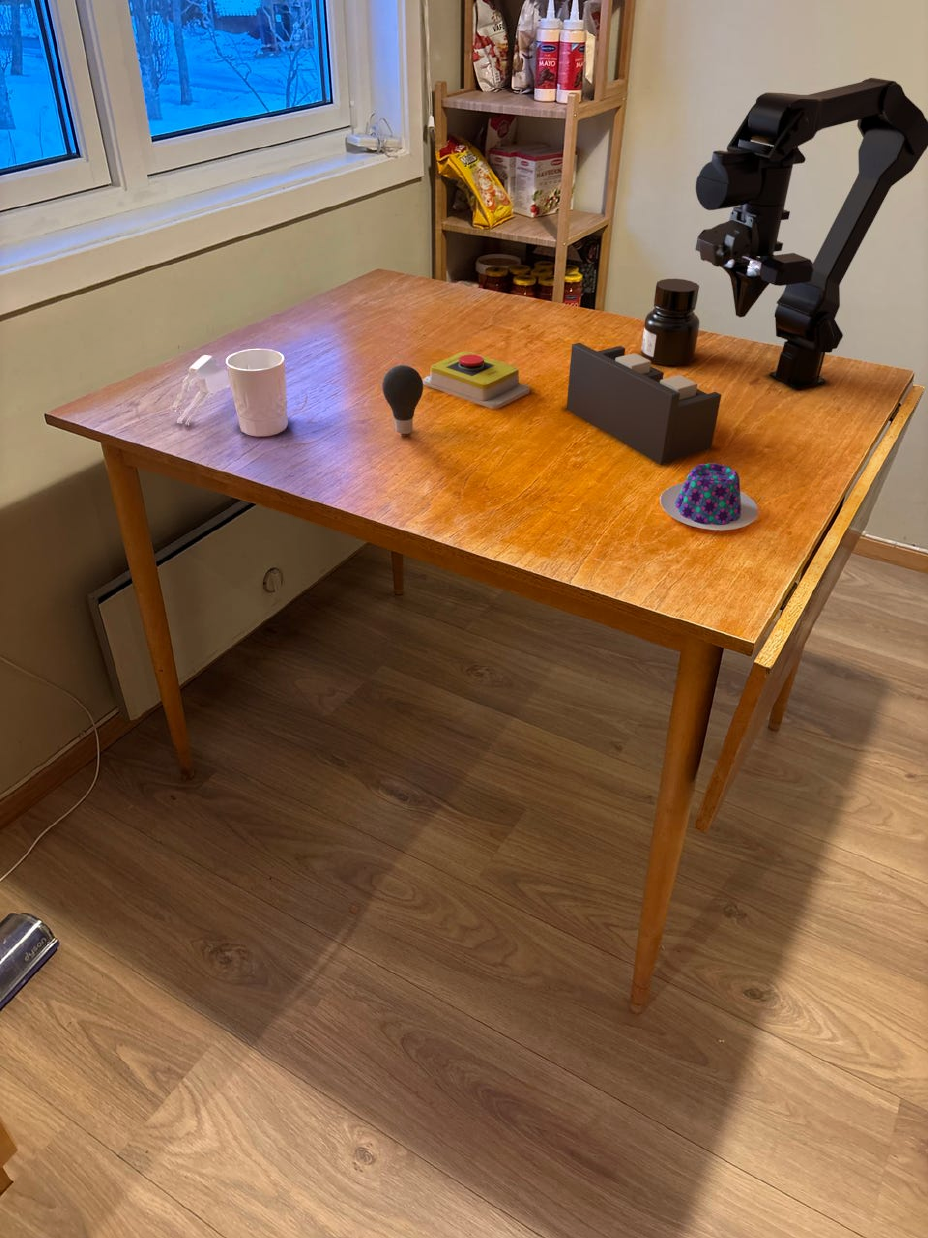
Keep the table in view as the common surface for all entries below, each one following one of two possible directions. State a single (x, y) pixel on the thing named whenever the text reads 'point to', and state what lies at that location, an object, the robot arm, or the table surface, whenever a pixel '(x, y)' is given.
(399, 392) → the light bulb
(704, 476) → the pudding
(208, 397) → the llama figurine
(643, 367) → the key
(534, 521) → the table surface
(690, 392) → the key
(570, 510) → the table surface
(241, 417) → the white cup
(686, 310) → the ink bottle
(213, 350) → the table surface
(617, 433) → the black hollow block
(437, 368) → the emergency button
